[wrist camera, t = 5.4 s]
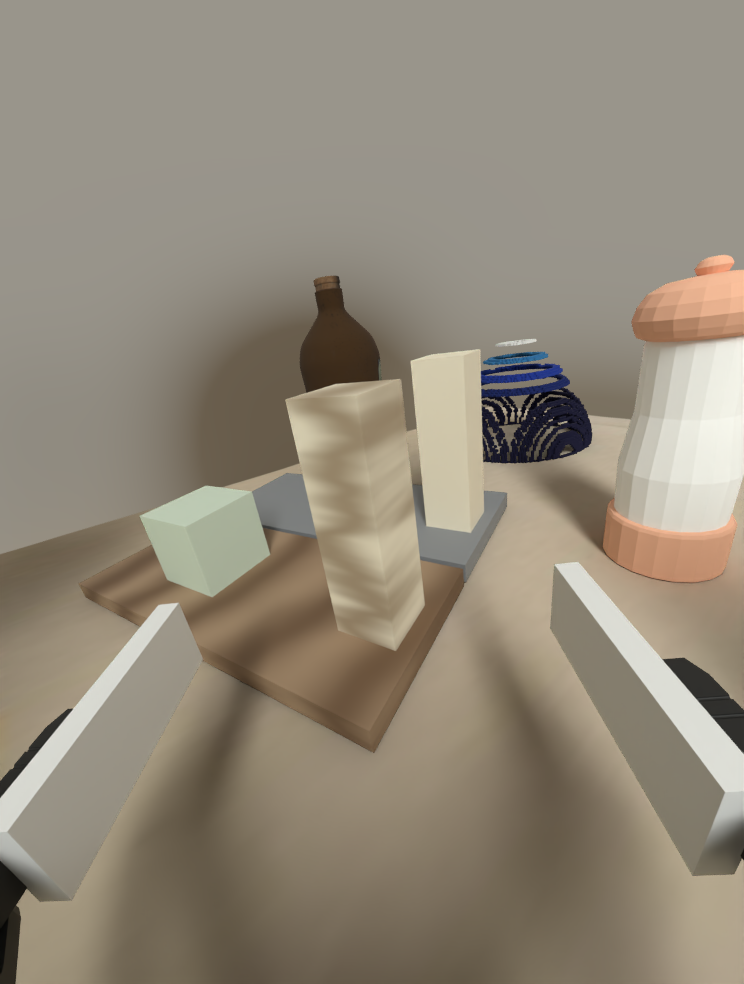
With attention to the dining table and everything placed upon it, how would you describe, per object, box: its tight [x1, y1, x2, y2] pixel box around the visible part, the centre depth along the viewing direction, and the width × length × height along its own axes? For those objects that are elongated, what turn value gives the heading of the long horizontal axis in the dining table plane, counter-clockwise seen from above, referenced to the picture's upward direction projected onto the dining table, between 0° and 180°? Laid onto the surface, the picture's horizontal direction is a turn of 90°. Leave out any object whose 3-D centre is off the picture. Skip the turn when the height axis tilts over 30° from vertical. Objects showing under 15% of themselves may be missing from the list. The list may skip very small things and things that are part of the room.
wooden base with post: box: [79, 379, 464, 753], centre depth 27 cm, size 30×13×16 cm, turn 59°
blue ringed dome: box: [481, 339, 592, 463], centre depth 54 cm, size 20×20×14 cm
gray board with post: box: [252, 349, 507, 582], centre depth 37 cm, size 30×13×16 cm, turn 59°
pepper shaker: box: [603, 255, 744, 582], centre depth 24 cm, size 7×7×19 cm
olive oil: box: [300, 276, 382, 393], centre depth 50 cm, size 11×11×25 cm
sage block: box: [140, 486, 270, 597], centre depth 30 cm, size 6×6×6 cm
